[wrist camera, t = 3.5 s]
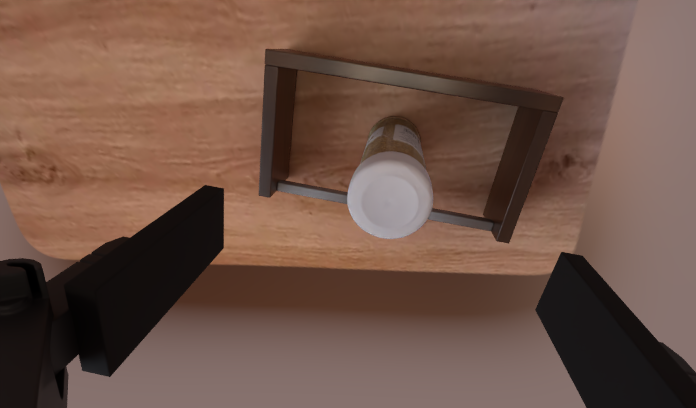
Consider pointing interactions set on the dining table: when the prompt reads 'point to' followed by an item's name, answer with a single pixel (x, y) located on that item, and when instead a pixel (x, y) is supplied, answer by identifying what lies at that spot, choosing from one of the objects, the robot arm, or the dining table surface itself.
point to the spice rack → (527, 126)
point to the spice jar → (391, 182)
